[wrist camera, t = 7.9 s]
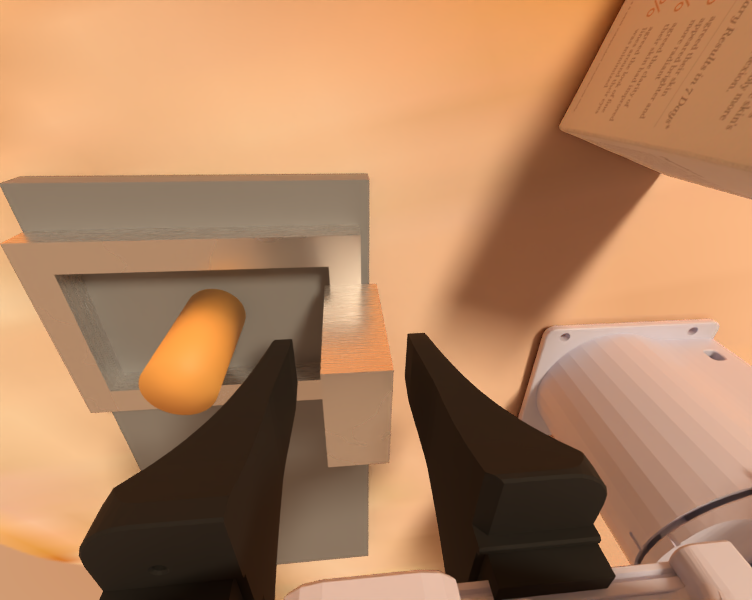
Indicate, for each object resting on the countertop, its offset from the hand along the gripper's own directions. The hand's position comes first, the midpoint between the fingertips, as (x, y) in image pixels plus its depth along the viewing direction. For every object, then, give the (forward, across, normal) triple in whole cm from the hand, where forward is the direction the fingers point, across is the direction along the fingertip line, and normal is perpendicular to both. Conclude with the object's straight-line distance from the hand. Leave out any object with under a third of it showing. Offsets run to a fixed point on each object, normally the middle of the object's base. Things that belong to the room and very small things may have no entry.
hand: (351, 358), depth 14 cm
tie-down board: (+4, +5, +8) cm, 11 cm away
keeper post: (+4, +6, 0) cm, 7 cm away
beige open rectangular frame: (+3, +6, 0) cm, 6 cm away
